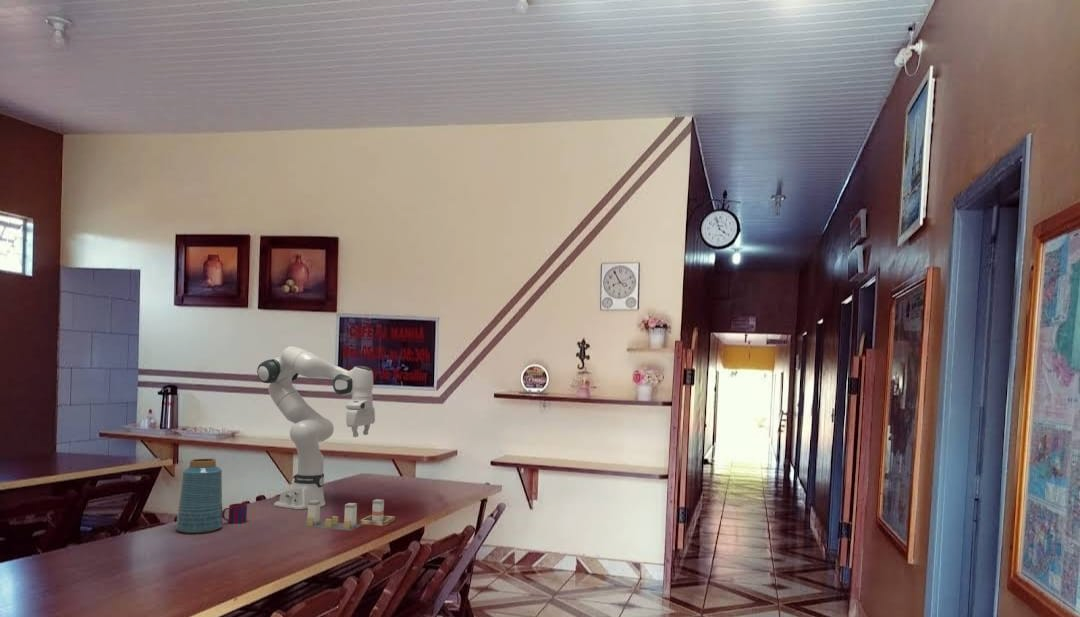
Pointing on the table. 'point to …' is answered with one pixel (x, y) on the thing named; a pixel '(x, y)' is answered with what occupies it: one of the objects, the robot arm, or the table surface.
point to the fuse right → (351, 514)
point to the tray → (387, 520)
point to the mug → (236, 513)
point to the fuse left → (314, 511)
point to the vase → (200, 497)
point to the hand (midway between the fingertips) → (360, 435)
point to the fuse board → (331, 524)
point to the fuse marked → (378, 510)
